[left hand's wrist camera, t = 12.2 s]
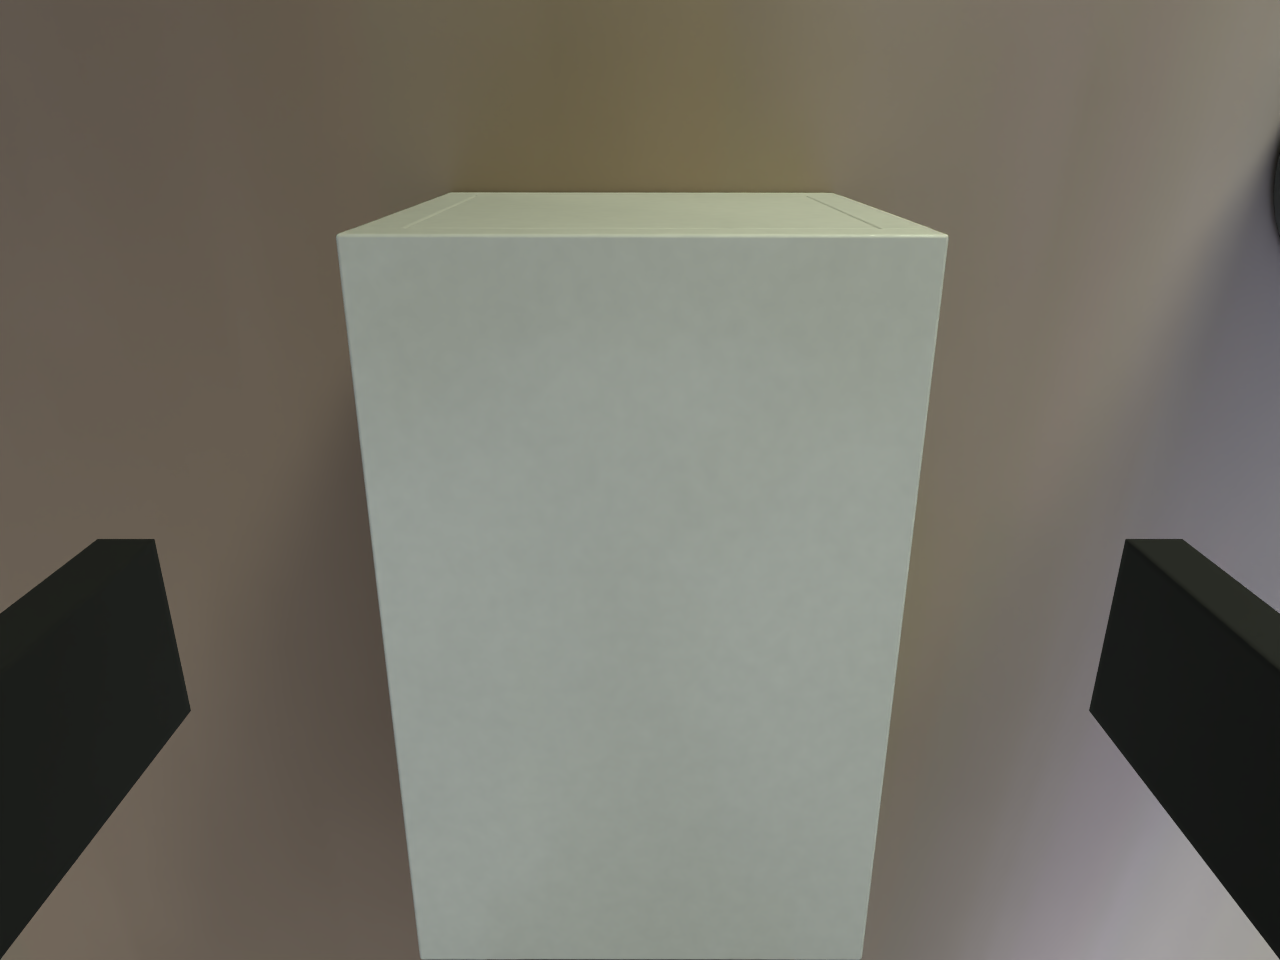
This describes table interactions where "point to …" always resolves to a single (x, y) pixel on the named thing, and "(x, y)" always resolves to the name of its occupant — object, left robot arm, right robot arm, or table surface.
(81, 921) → the table surface
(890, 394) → the cabinet
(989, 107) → the table surface
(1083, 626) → the table surface
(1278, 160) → the right robot arm
